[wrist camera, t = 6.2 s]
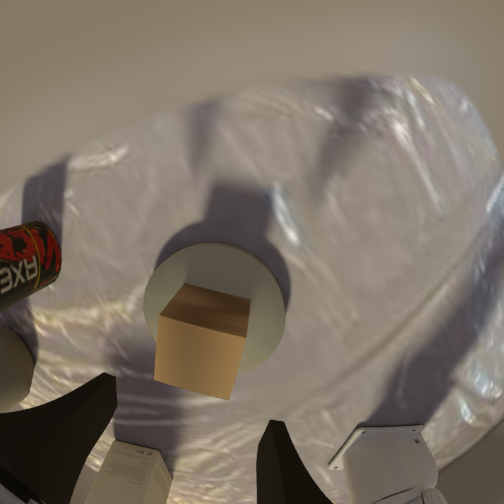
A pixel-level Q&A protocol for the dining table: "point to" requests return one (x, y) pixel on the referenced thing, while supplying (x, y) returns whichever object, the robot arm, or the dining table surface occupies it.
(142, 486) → the skincare box
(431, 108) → the dining table surface
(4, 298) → the deodorant
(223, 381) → the walnut block
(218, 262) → the khaki round plate
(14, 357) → the cup
